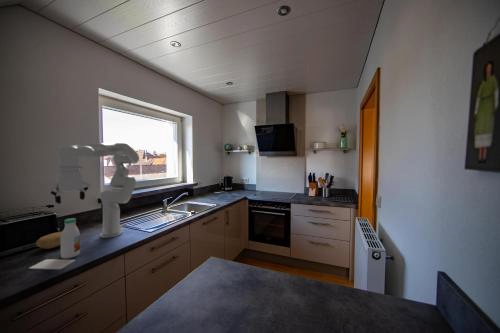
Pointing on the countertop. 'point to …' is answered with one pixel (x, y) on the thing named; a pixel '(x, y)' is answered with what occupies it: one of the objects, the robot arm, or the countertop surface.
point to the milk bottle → (70, 239)
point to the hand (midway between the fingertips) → (70, 201)
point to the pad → (52, 264)
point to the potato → (49, 241)
